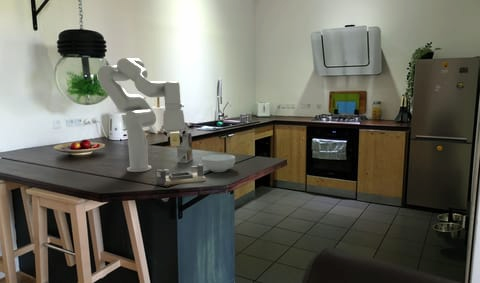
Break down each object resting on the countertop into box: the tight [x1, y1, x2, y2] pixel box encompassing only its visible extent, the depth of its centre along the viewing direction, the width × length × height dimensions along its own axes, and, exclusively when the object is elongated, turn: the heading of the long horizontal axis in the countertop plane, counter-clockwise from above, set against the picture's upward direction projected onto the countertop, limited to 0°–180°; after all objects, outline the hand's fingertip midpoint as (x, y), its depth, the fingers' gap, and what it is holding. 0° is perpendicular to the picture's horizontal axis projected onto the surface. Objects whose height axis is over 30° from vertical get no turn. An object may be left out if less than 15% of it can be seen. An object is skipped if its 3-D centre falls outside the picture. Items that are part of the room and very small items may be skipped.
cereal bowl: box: [201, 154, 236, 173], centre depth 187 cm, size 17×17×7 cm
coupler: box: [170, 131, 180, 147], centre depth 177 cm, size 4×8×6 cm, turn 10°
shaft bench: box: [155, 163, 207, 186], centre depth 170 cm, size 12×22×6 cm, turn 111°
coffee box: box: [176, 132, 194, 164], centre depth 211 cm, size 9×6×16 cm
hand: (175, 144), depth 178 cm, fingers closed on coupler, 4 cm apart
